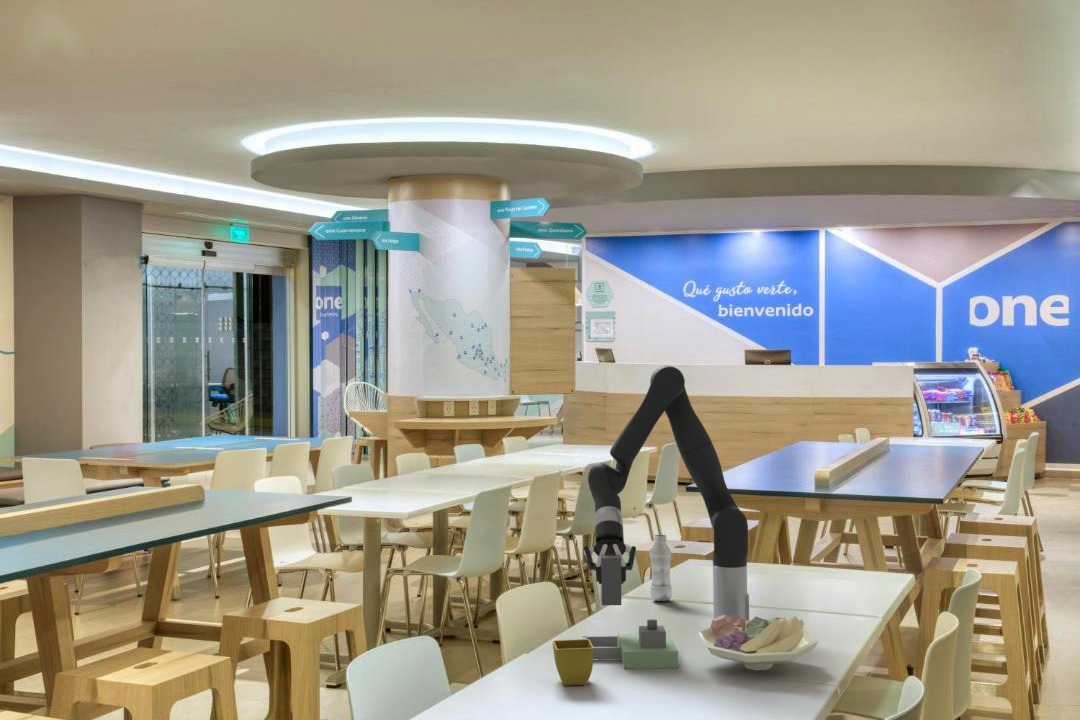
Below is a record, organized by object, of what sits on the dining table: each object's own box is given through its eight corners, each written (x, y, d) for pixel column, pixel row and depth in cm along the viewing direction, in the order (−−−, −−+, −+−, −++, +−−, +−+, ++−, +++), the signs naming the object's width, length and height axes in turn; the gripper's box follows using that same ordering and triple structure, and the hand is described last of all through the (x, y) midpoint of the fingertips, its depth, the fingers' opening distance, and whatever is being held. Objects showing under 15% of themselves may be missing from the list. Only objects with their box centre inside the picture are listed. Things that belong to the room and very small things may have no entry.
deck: (668, 646, 290) (667, 607, 290) (678, 667, 270) (677, 626, 270) (582, 647, 290) (582, 609, 290) (586, 669, 270) (585, 627, 270)
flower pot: (552, 678, 263) (552, 639, 263) (590, 676, 264) (589, 638, 264) (556, 689, 254) (555, 649, 254) (595, 687, 255) (594, 647, 255)
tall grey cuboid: (620, 600, 292) (619, 553, 292) (621, 605, 286) (621, 558, 286) (600, 600, 292) (600, 553, 292) (601, 605, 286) (601, 558, 286)
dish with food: (794, 690, 251) (793, 626, 251) (679, 673, 266) (678, 612, 266) (833, 660, 275) (832, 602, 275) (725, 646, 290) (725, 591, 290)
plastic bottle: (671, 603, 341) (670, 537, 341) (649, 603, 342) (648, 537, 342) (673, 599, 347) (672, 534, 347) (651, 598, 348) (650, 533, 348)
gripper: (582, 519, 297) (583, 573, 285) (636, 519, 297) (640, 573, 285) (581, 536, 302) (582, 590, 290) (635, 536, 302) (638, 590, 290)
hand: (611, 581), depth 287 cm, fingers closed on tall grey cuboid, 5 cm apart
